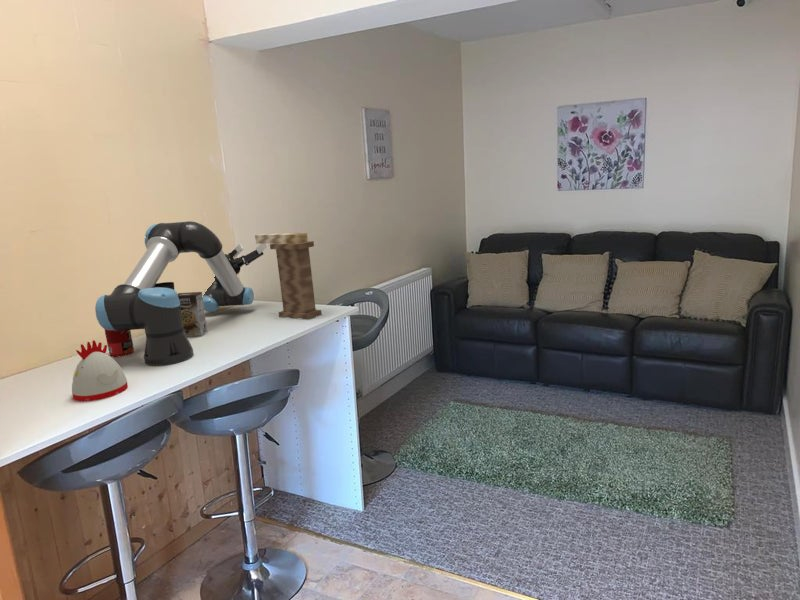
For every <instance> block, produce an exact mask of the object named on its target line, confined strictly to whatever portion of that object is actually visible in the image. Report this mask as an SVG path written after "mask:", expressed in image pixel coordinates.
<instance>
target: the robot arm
mask: <svg viewBox="0 0 800 600" xmlns="http://www.w3.org/2000/svg"><path fill="white" fill-rule="evenodd" d="M144 236H145V238H144V244H145V247H146V250H145V252H144V254H143V256H142V257H141V258H140V260H139V261H138V262H137V264H136V266H135V267H134V269H133V270H132V271H131V273H130V274H129V276H128V277H127V279H126V280H125V282H124V283H122V284H118V285H117V286H116V287H115V288H114V289H113V290H112V292H111V294H104V295H101V296H99V297H98V298H97V300H96V303H95V310H94V311H95V317H96V320H97V322H98V324H99V325H100V327H102V328H103V329H104V330H105V329H106V330H115V331H121V330H130V331H133V330H136V331H137V330H144V332H145V338H146V341H145V347H144V353H143V361H144V364H145V365H146V366H152V367H153V366H155V367H156V366H166V365H167V366H168V365H172V364H176V363H177V364H178V363H180V362H184V361H187V360H189V359H191V358H192V357H194V349H193V346H192V344H191V343H190V341H189V338H188V337H186V335H185V333H184V328H183V321H182V314H181V308H180V301H179V297H178V294H179V293H178V292H177V291H176V290H175V289H174V290H173V289H170V288H161V287H155V288H153V287H154V286H155V284H157V283H158V282H159V280H160V278H161V276H162V274H163V273H164V271H165V269H166V268H167V266H168V265H169V263H173V262H174V261H176V259H177V258H178V257H179V255H180V254H184V253H186V254H187V253H195V254H198V256H199V257H200V258H201V259H204V261H205V262H206V263H207V265H208V266H209V269H210V270H211V271H212V272H213V274H215V277H214V278H215V281H214V282H213V283H212V285H211V286H210V287H209V288H208V289H207V291H206V292H205V291H204V292H205V294H204V293H203V294H204V295H203V294H202V296H203V305H204V312H208V313H215V312H216V311H217V310H218V308H219V307H230V306H246V305H251V304H253V302H254V299H255V294H254V289H252V287H249V286H248V287H247V286H244V284H243V283H242V281H241V280H240V278H239V277H238V275H239V274H240V273H241V268H242V267H243V266H244V265H245V266H248V265H250V264H251V263H252V262H254V261H255V260H257V259H258V258H260V257H262V256H264V251H265V250H266V249H267V247H268V246H269V244H258V246H257V247H256V248H255V250H253V251H251V252H250V253H247V254H246V255H241V256H239V255H240V254H241V252H243V250H244V247H243V244H241V243H238V244H237V245H236V247H235V248H234V249H233V250H232V251H230V252H229V253H227V254H226V253H225V252H224V251H223V243H222V242H221V240H220V239H219V237H218V236H217V235H216V234H215V232H213V231H212V230H211V229H209V228H208V227H207V226H206V225H204V224H202V223H200V222H196V221H193V220H191V221H189V220H188V221H177V222H158V223H155V224H152V225H150V226H148V228H147V230H146V232H145V234H144ZM237 256H239V257H237Z"/></svg>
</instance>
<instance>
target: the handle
mask: <svg viewBox="0 0 800 600" xmlns="http://www.w3.org/2000/svg"><path fill="white" fill-rule="evenodd" d="M254 238H255V244H258V245H260V244H268V245H270V244H276V243H286V244H299V243H304V242H308V241H309V239H308V232H295V233H259V234H255V235H254Z"/></svg>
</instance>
